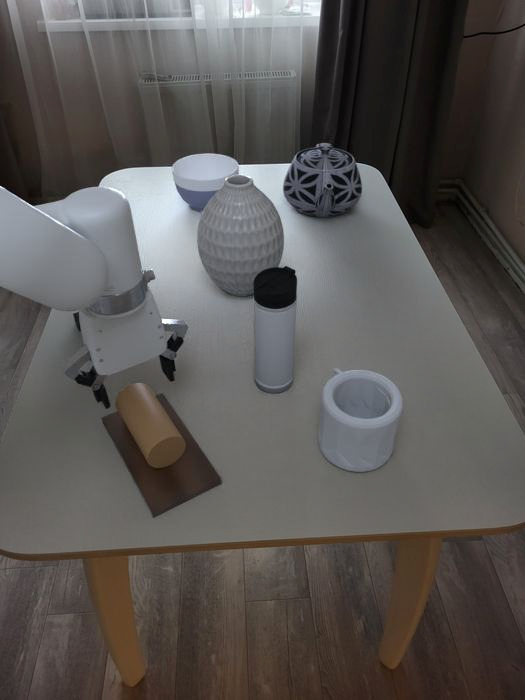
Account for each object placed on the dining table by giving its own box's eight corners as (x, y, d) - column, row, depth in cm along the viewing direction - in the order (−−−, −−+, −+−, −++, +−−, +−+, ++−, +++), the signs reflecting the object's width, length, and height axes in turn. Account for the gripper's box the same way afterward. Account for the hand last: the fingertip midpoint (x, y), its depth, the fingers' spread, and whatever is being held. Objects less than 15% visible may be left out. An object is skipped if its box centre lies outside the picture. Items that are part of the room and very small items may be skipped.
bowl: (187, 187, 146) (183, 151, 139) (246, 192, 143) (245, 155, 137) (167, 215, 134) (162, 177, 128) (231, 221, 131) (229, 182, 125)
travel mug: (302, 378, 91) (308, 275, 78) (275, 399, 87) (277, 295, 74) (273, 361, 94) (275, 259, 81) (246, 381, 90) (243, 277, 77)
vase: (287, 267, 116) (290, 163, 101) (277, 314, 104) (279, 204, 89) (211, 261, 118) (203, 159, 103) (192, 306, 106) (181, 197, 91)
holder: (153, 518, 71) (152, 513, 71) (102, 422, 84) (101, 417, 83) (221, 483, 75) (221, 479, 75) (163, 397, 88) (162, 392, 87)
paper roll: (150, 474, 75) (144, 447, 72) (118, 417, 83) (111, 391, 79) (187, 456, 78) (183, 430, 74) (153, 403, 85) (148, 377, 82)
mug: (407, 460, 78) (420, 412, 72) (338, 483, 75) (344, 435, 69) (361, 396, 88) (368, 348, 81) (298, 414, 85) (301, 366, 78)
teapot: (283, 238, 125) (285, 174, 116) (281, 180, 149) (283, 123, 139) (368, 238, 125) (377, 174, 115) (353, 180, 148) (359, 123, 139)
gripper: (166, 255, 74) (181, 352, 85) (34, 298, 67) (69, 396, 78) (191, 283, 69) (203, 381, 80) (52, 331, 62) (86, 431, 73)
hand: (137, 388), depth 79 cm, fingers open, 9 cm apart
